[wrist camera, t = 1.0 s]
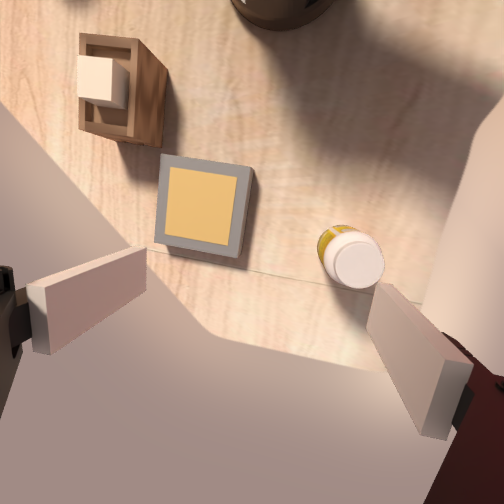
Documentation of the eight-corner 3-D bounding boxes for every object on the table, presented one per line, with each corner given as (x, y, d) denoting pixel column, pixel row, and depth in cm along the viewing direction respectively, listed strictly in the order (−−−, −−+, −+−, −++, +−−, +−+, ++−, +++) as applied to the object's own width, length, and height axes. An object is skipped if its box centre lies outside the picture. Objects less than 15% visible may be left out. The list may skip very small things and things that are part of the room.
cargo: (97, 68, 31) (77, 54, 28) (129, 72, 30) (112, 58, 27) (96, 105, 32) (77, 96, 29) (127, 109, 31) (110, 100, 28)
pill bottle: (329, 275, 38) (344, 306, 27) (308, 238, 37) (315, 254, 26) (371, 255, 36) (404, 279, 25) (349, 215, 36) (375, 223, 25)
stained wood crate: (119, 63, 36) (79, 32, 29) (167, 69, 35) (138, 38, 28) (116, 141, 38) (78, 129, 31) (161, 148, 37) (133, 137, 31)
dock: (171, 156, 37) (160, 153, 34) (253, 169, 36) (250, 166, 33) (164, 239, 40) (153, 242, 37) (241, 253, 39) (236, 258, 36)
